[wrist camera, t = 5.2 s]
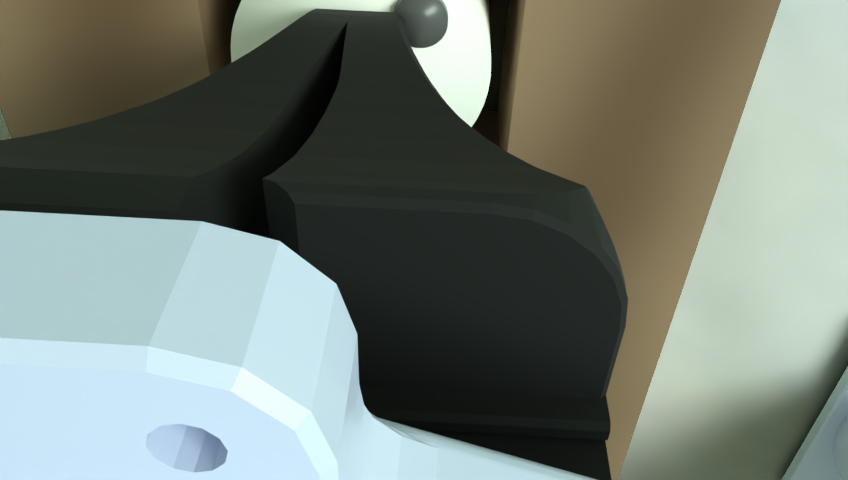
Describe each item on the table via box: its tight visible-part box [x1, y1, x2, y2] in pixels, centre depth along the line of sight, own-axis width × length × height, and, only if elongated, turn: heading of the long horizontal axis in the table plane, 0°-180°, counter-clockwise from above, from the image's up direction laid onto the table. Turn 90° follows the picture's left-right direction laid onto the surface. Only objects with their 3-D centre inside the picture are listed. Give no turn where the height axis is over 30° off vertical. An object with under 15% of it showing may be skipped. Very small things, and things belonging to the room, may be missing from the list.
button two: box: [230, 0, 491, 127], centre depth 13 cm, size 4×4×3 cm
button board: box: [0, 0, 781, 480], centre depth 19 cm, size 12×30×3 cm, turn 178°
